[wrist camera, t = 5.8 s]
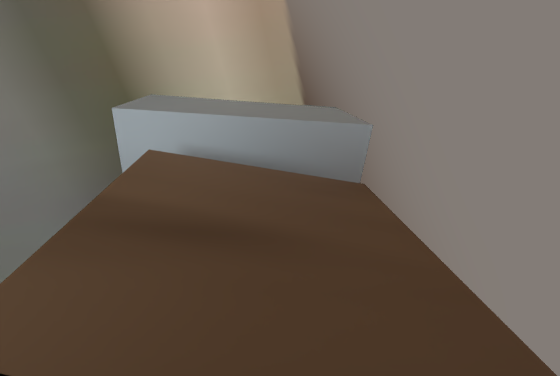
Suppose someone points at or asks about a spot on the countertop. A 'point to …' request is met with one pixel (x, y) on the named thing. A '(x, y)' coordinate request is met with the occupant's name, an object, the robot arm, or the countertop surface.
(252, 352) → the walnut cube
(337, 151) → the riser block
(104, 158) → the countertop surface
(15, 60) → the countertop surface
